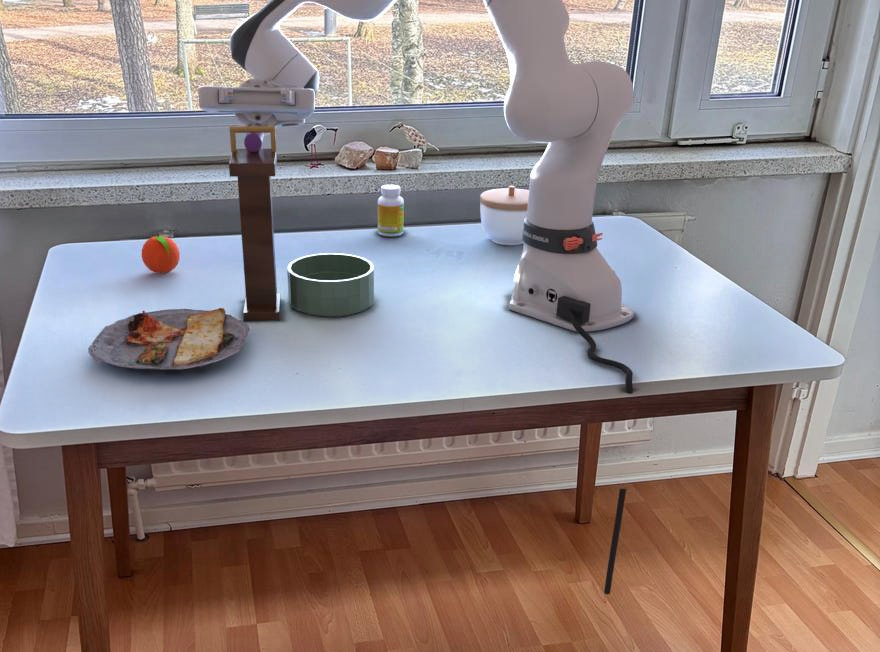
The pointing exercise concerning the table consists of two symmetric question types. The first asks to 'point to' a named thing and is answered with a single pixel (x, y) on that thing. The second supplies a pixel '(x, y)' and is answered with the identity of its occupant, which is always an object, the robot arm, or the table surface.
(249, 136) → the glue stick
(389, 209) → the supplement bottle
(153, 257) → the clementine
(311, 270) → the bowl
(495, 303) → the table surface
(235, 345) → the food plate
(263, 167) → the stand
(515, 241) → the lidded bowl
